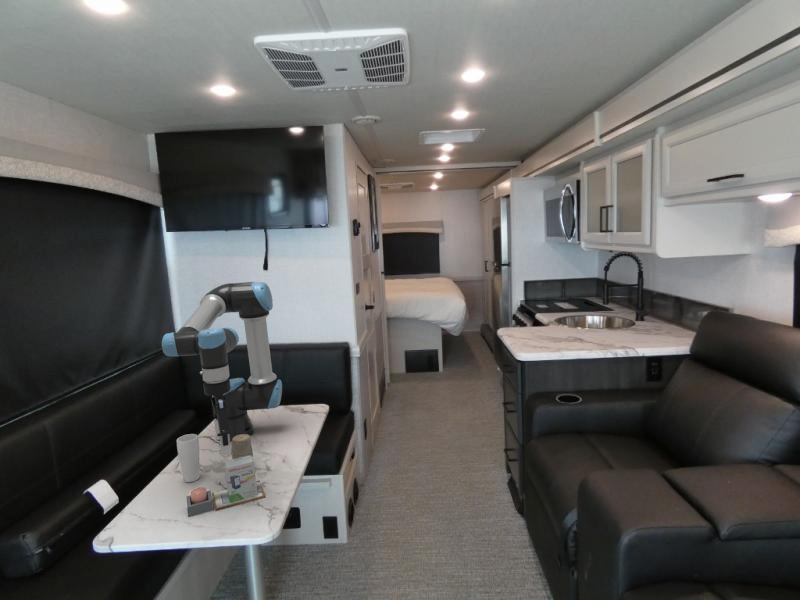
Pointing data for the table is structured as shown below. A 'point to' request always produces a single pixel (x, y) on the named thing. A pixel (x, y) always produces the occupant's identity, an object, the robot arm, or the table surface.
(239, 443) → the carving
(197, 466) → the drinking glass
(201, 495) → the button
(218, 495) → the picture frame
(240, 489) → the ink box
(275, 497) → the table surface
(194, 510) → the button housing
